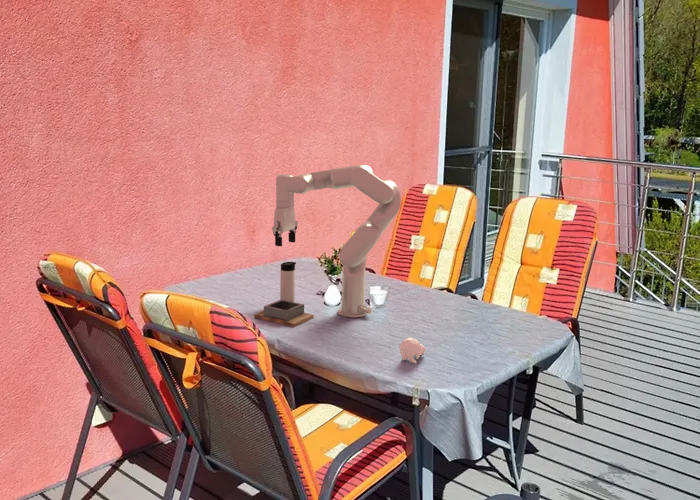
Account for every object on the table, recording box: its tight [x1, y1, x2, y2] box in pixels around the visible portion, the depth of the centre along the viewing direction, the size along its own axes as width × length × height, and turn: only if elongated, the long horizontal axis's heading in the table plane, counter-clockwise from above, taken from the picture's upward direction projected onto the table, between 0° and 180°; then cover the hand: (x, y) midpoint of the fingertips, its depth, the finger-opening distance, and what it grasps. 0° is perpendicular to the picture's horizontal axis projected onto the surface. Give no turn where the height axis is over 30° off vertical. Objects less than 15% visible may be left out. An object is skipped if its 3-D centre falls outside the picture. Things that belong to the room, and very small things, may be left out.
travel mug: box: [279, 261, 297, 303], centre depth 292 cm, size 6×7×20 cm
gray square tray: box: [263, 299, 305, 321], centre depth 277 cm, size 12×12×4 cm
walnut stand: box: [253, 310, 315, 328], centre depth 278 cm, size 20×14×2 cm
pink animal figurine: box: [399, 337, 426, 364], centre depth 237 cm, size 6×8×12 cm
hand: (285, 244), depth 287 cm, fingers open, 9 cm apart
